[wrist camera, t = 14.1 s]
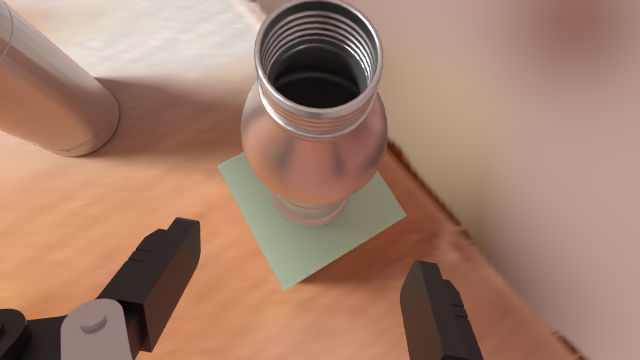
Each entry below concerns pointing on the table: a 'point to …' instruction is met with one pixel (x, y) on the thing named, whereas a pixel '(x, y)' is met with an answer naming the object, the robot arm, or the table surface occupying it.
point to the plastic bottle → (315, 109)
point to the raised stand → (307, 243)
